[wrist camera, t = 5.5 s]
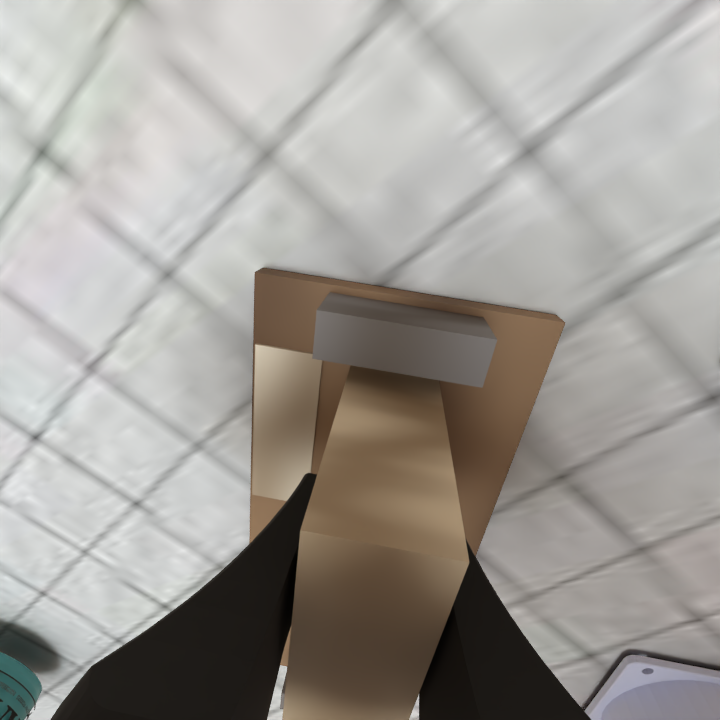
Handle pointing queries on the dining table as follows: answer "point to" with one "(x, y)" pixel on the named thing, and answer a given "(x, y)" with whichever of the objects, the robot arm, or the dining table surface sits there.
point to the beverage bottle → (17, 689)
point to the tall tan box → (375, 554)
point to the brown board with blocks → (392, 354)
